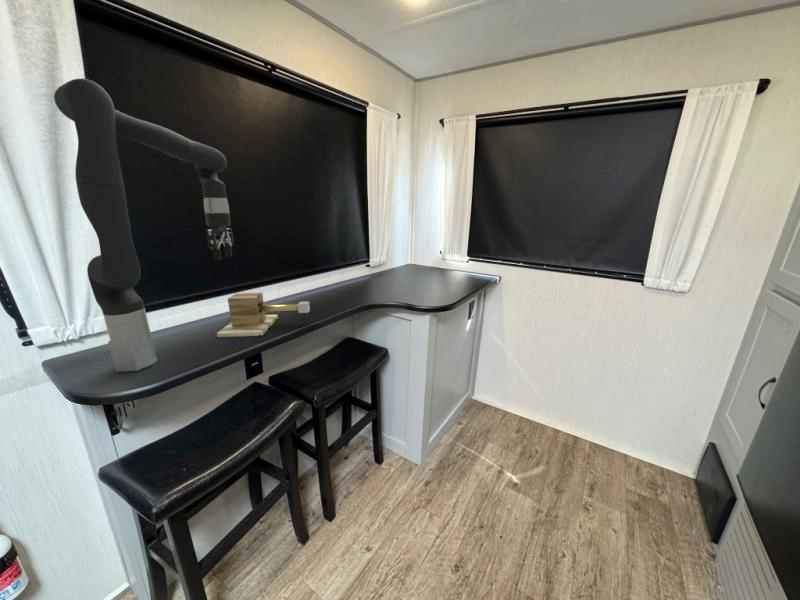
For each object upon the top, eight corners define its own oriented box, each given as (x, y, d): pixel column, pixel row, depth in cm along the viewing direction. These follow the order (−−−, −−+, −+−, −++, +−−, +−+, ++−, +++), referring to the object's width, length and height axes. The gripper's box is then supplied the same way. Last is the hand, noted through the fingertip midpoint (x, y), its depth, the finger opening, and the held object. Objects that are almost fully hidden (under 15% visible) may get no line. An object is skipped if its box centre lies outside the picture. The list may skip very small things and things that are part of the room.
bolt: (308, 312, 125) (307, 303, 124) (249, 314, 123) (247, 305, 122) (309, 309, 129) (309, 301, 128) (252, 311, 127) (251, 303, 126)
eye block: (262, 335, 118) (257, 301, 114) (217, 337, 117) (211, 303, 113) (277, 317, 137) (274, 288, 133) (239, 319, 136) (235, 289, 132)
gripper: (216, 212, 118) (222, 256, 122) (194, 211, 104) (202, 260, 108) (237, 212, 118) (242, 256, 122) (218, 211, 104) (224, 260, 108)
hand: (223, 258), depth 115 cm, fingers open, 8 cm apart
